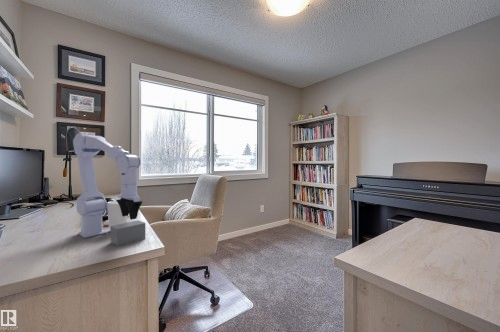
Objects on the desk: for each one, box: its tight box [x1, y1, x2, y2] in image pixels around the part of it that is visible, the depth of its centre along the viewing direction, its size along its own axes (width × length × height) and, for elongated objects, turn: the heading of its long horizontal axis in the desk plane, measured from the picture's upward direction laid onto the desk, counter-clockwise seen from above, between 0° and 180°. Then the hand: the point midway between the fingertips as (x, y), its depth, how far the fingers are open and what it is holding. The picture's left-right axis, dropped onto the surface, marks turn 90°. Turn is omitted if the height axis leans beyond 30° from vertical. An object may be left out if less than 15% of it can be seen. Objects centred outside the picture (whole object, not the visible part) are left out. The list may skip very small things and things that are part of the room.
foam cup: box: [106, 200, 129, 232], centre depth 99 cm, size 10×9×13 cm
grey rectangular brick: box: [110, 220, 146, 247], centre depth 86 cm, size 6×11×7 cm, turn 141°
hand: (129, 217), depth 86 cm, fingers open, 7 cm apart
